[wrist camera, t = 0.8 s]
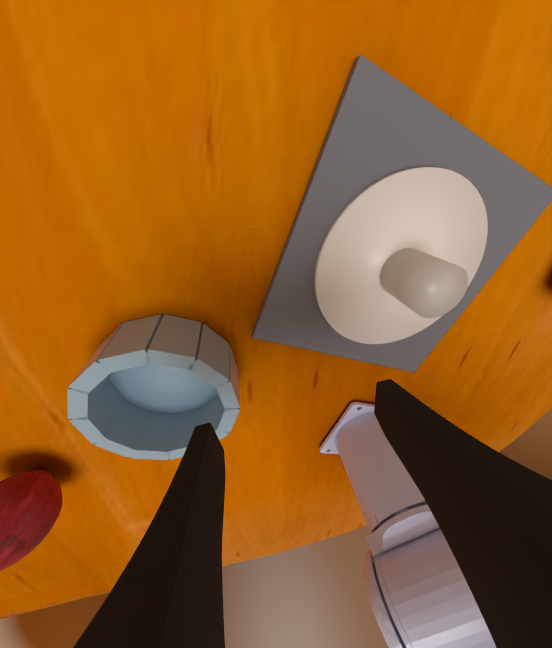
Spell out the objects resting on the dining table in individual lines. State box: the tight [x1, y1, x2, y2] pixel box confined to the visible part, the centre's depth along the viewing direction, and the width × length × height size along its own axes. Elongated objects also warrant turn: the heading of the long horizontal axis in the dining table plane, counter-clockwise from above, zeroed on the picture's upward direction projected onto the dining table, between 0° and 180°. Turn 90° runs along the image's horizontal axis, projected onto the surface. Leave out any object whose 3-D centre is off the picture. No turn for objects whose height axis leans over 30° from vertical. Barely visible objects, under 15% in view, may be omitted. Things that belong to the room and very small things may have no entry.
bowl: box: [67, 314, 240, 460], centre depth 18 cm, size 10×10×4 cm
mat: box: [252, 55, 552, 372], centre depth 18 cm, size 16×16×1 cm
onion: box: [0, 469, 62, 571], centre depth 19 cm, size 6×6×8 cm
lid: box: [314, 167, 488, 344], centre depth 15 cm, size 12×12×4 cm
